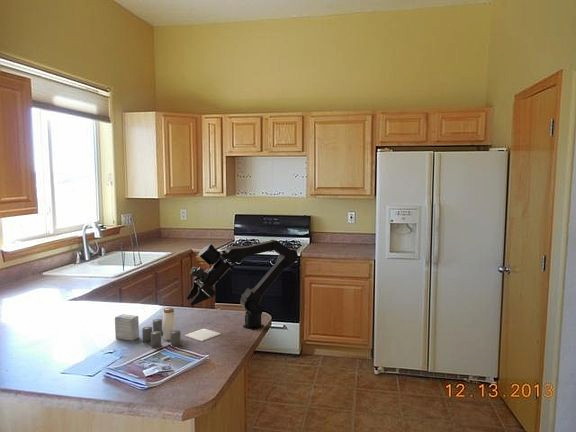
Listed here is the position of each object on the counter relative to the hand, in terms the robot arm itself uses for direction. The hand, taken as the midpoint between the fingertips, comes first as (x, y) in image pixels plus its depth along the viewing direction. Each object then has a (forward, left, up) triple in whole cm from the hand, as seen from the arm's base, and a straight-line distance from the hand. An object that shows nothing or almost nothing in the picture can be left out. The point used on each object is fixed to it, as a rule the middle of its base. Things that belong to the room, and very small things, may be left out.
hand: (189, 302), depth 165 cm
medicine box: (+17, +17, -14) cm, 28 cm away
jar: (+4, +7, -13) cm, 16 cm away
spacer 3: (+1, +15, -13) cm, 20 cm away
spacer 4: (-4, +10, -13) cm, 17 cm away
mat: (-4, -3, -13) cm, 14 cm away
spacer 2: (+13, +6, -13) cm, 20 cm away
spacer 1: (+8, +14, -13) cm, 21 cm away
